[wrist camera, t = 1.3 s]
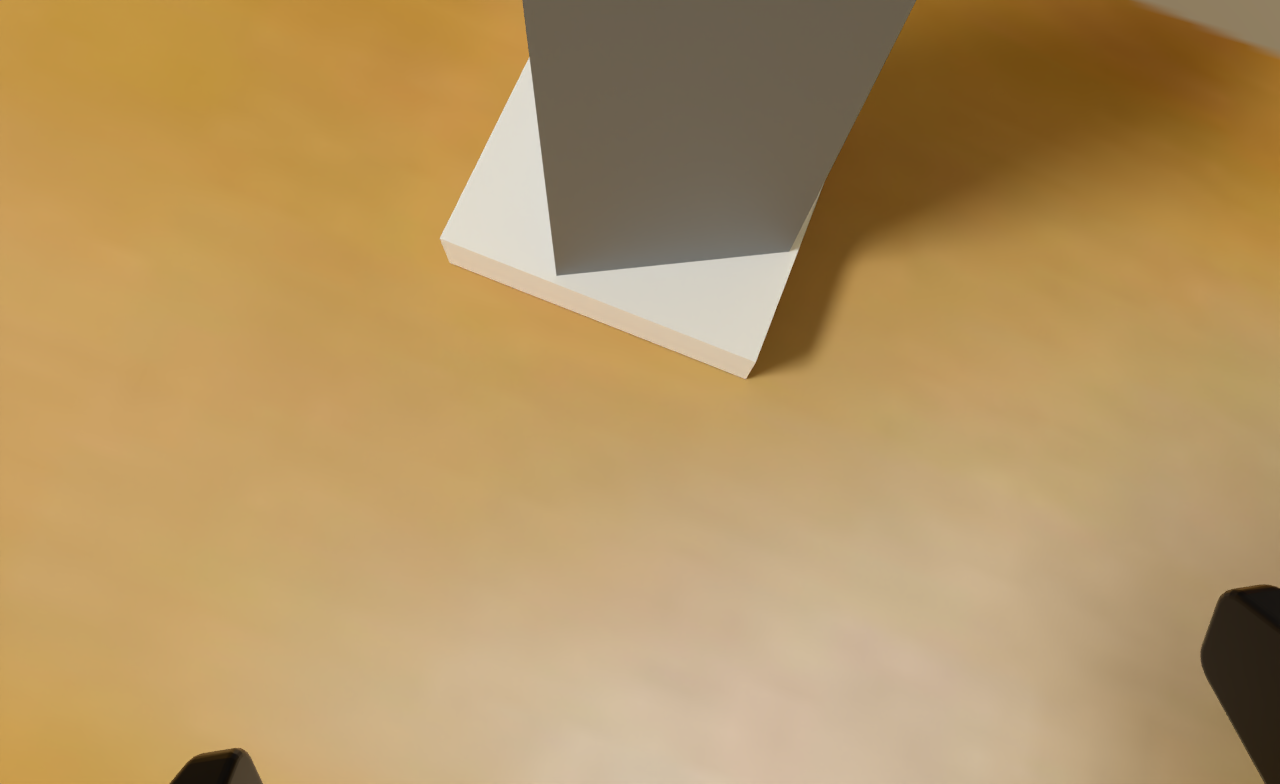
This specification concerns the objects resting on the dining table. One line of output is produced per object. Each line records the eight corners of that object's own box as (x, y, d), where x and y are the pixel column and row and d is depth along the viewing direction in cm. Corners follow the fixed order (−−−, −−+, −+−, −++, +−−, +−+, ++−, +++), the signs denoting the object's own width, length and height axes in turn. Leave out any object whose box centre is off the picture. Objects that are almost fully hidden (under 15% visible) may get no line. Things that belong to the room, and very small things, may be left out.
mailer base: (846, 113, 25) (907, -12, 20) (745, 379, 23) (785, 312, 18) (572, 11, 25) (566, -136, 20) (449, 262, 23) (410, 166, 18)
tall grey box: (789, 251, 22) (966, -99, 11) (556, 275, 22) (514, -63, 11) (753, 47, 23) (880, -435, 13) (532, 67, 23) (475, -415, 12)
